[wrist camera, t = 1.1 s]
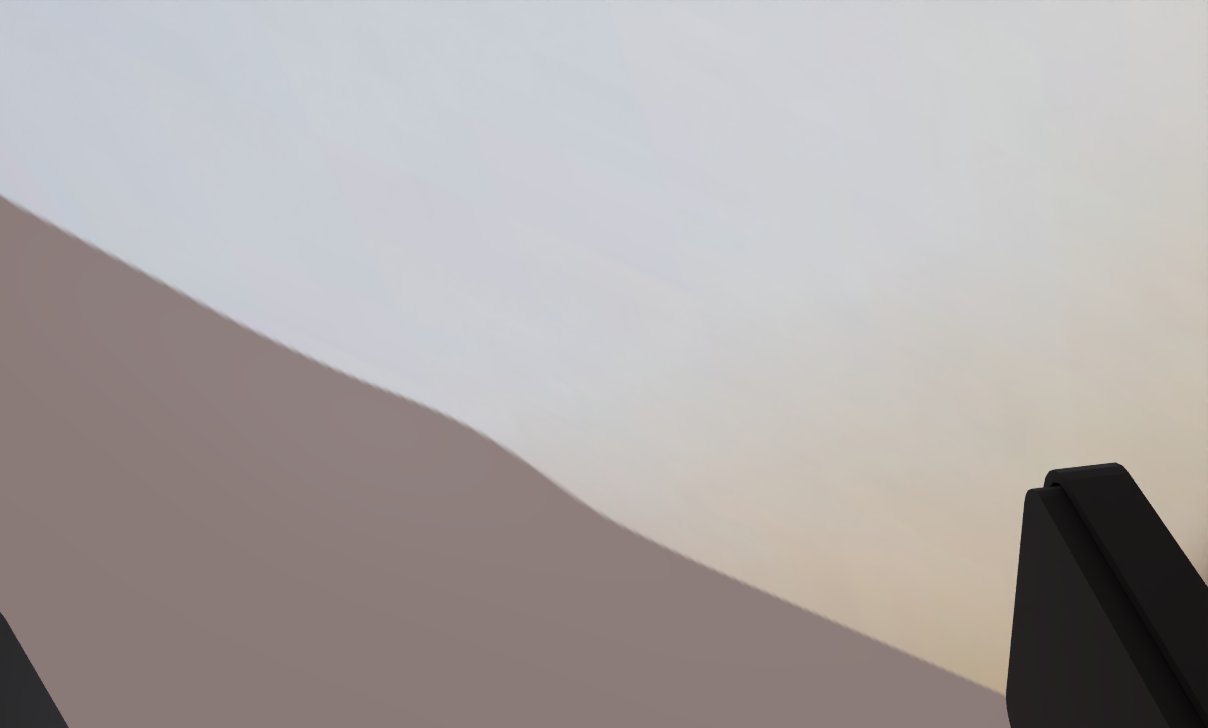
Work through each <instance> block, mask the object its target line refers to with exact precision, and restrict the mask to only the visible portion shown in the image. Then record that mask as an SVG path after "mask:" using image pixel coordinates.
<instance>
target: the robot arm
mask: <svg viewBox="0 0 1208 728" xmlns="http://www.w3.org/2000/svg"><path fill="white" fill-rule="evenodd" d="M1006 704H1007V711H1008V717H1009V722H1010V725H1011V728H1208V587H1207V585H1206V584H1205V582H1204V581H1203V580H1202V578H1201V577H1200V575H1199V574H1198V572H1197V571H1196V569H1195V568H1194V567H1193V565H1192V564H1191V562H1190V561H1189V559H1188V558H1187V556H1186V555H1185V553H1184V552H1183V551H1182V549H1181V548H1180V546H1179V545H1178V543H1177V542H1176V540H1175V539H1174V538H1173V536H1172V535H1171V533H1170V532H1169V530H1168V529H1167V527H1166V526H1165V524H1164V523H1163V522H1162V520H1161V519H1160V517H1159V516H1158V514H1157V513H1156V511H1155V510H1154V508H1153V507H1152V506H1151V504H1150V503H1149V501H1148V500H1147V498H1146V497H1145V495H1144V494H1143V493H1142V491H1141V490H1140V488H1139V487H1138V485H1137V484H1136V482H1135V481H1134V479H1133V478H1132V477H1131V475H1130V474H1129V472H1128V471H1127V470H1126V469H1125V468H1124V467H1123V466H1122V465H1120V464H1118V463H1107V464H1098V465H1090V466H1081V467H1072V468H1064V469H1055V470H1052V471H1049V472H1048V474H1047V476H1046V478H1045V482H1044V487H1043V488H1035V489H1030V490H1028V492H1027V493H1026V497H1025V502H1024V512H1023V522H1022V533H1021V543H1020V554H1019V564H1018V574H1017V585H1016V595H1015V606H1014V616H1013V627H1012V637H1011V647H1010V658H1009V668H1008V679H1007V689H1006ZM0 728H69V727H68V726H67V724H66V722H65V721H64V719H63V717H62V715H61V714H60V712H59V710H58V708H57V707H56V705H55V703H54V702H53V700H52V698H51V697H50V695H49V693H48V691H47V690H46V688H45V686H44V684H43V683H42V681H41V679H40V678H39V676H38V674H37V672H36V671H35V669H34V667H33V666H32V664H31V662H30V660H29V659H28V657H27V655H26V654H25V652H24V650H23V648H22V647H21V645H20V643H19V641H18V640H17V638H16V636H15V635H14V633H13V631H12V629H11V628H10V626H9V624H8V623H7V621H6V619H5V618H4V616H3V615H2V614H1V613H0Z"/></svg>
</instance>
